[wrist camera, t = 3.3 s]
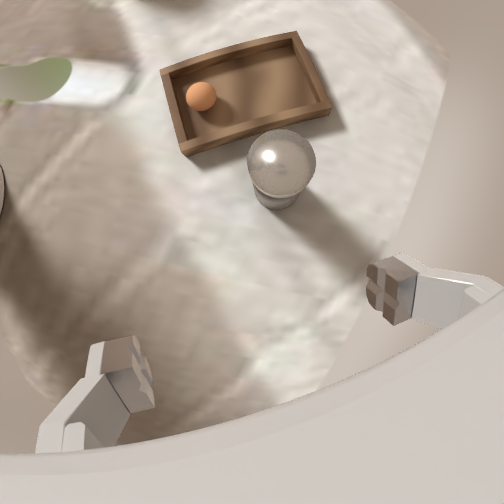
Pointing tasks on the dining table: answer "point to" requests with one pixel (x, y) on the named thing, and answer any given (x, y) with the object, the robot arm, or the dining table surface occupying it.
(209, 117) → the tray
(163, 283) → the dining table surface
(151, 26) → the dining table surface
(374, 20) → the dining table surface
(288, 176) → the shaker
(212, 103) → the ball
